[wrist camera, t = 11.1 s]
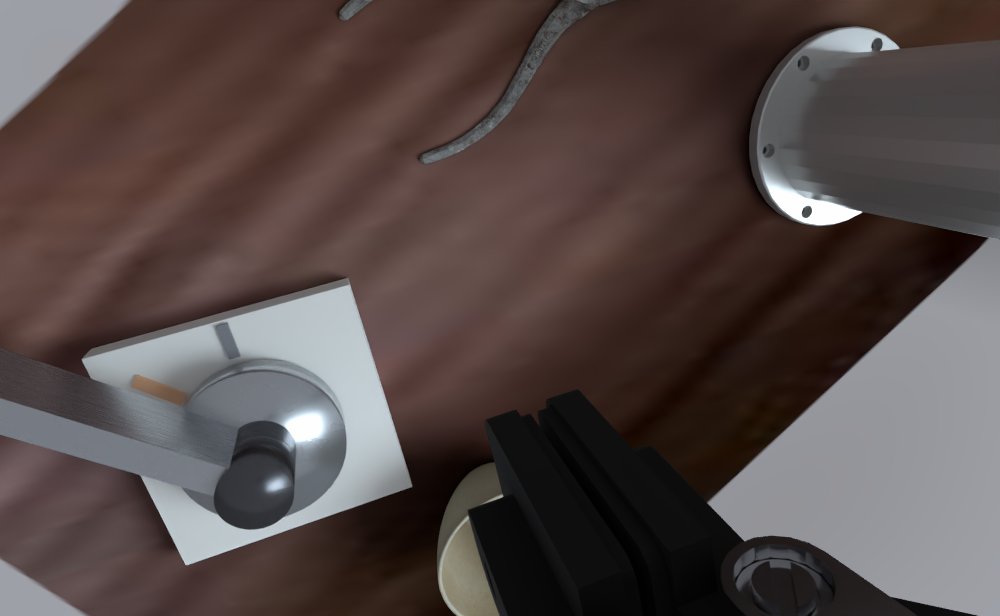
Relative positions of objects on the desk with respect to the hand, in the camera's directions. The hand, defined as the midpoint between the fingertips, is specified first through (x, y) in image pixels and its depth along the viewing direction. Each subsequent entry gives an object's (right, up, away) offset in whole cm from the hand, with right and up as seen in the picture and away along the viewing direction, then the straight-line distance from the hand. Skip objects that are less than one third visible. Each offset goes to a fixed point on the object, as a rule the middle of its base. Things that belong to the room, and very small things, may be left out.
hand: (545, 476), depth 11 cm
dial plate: (-15, -4, +26) cm, 31 cm away
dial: (-19, -2, +23) cm, 30 cm away
